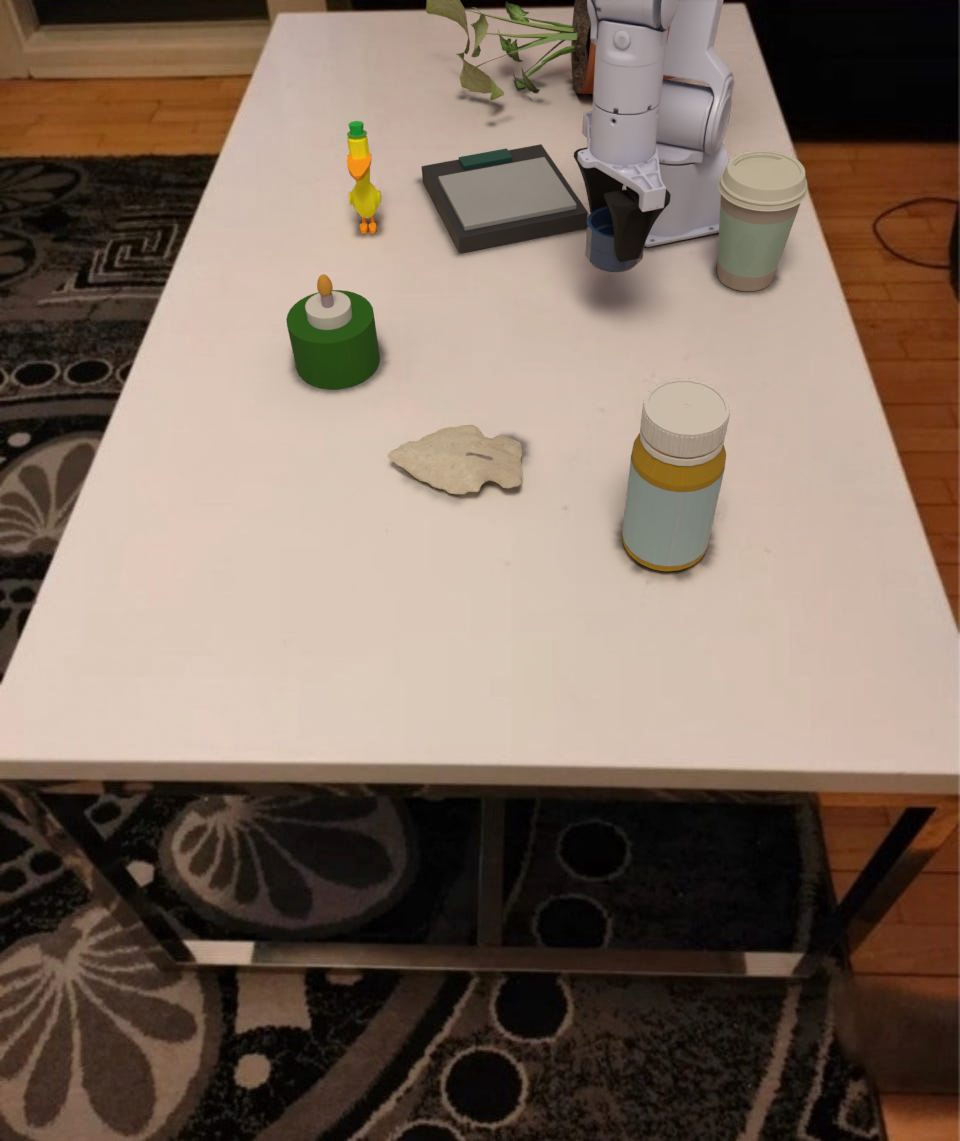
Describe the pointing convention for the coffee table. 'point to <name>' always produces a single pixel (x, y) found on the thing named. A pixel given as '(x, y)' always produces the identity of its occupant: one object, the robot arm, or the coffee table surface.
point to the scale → (503, 198)
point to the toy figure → (362, 177)
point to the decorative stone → (461, 459)
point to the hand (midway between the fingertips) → (615, 240)
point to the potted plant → (526, 45)
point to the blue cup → (604, 243)
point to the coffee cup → (757, 216)
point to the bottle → (675, 474)
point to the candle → (333, 337)
